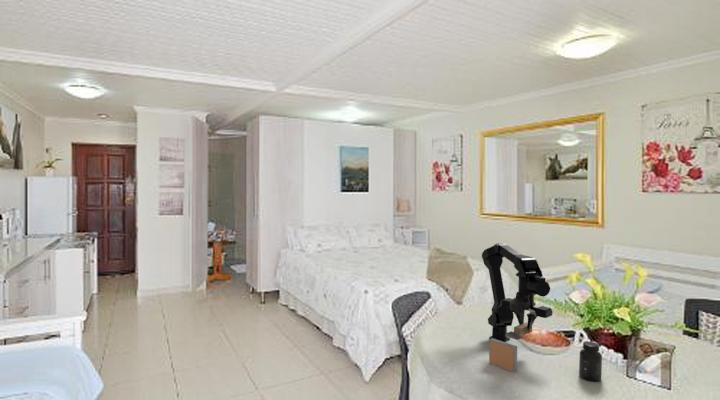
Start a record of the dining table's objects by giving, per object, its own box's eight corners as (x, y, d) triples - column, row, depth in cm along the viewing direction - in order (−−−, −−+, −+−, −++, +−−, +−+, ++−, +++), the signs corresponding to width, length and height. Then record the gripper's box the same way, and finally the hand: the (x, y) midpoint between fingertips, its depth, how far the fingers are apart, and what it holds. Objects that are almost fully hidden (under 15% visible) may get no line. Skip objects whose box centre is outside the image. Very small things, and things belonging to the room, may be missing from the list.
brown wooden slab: (523, 328, 167) (523, 321, 167) (534, 332, 163) (535, 324, 163) (505, 336, 158) (505, 328, 158) (517, 340, 155) (517, 332, 154)
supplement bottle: (574, 375, 147) (575, 341, 146) (588, 371, 149) (589, 339, 149) (591, 383, 140) (592, 348, 140) (605, 380, 143) (607, 346, 143)
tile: (492, 361, 157) (492, 338, 157) (516, 370, 150) (517, 346, 149) (489, 363, 156) (489, 339, 156) (513, 372, 148) (514, 347, 148)
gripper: (493, 288, 164) (492, 327, 165) (539, 298, 150) (538, 341, 151) (508, 284, 171) (507, 321, 172) (553, 293, 157) (552, 334, 158)
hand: (525, 329), depth 163 cm, fingers closed on brown wooden slab, 3 cm apart
